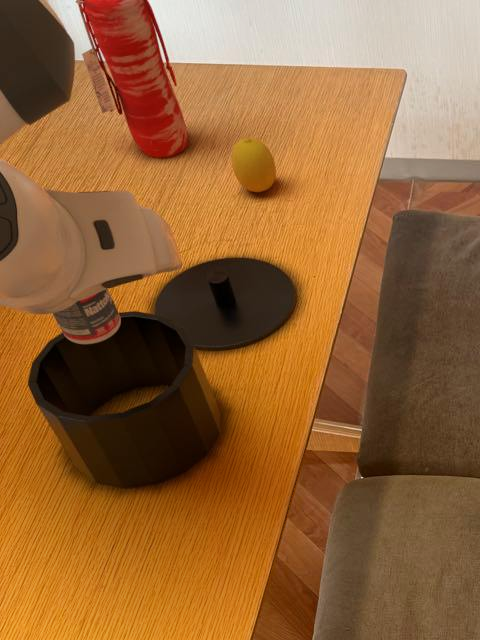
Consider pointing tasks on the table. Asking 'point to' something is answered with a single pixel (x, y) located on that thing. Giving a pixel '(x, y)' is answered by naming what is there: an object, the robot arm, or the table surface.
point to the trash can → (134, 424)
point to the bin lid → (228, 302)
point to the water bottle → (134, 73)
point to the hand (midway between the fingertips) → (72, 281)
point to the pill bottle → (90, 319)
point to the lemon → (253, 165)
